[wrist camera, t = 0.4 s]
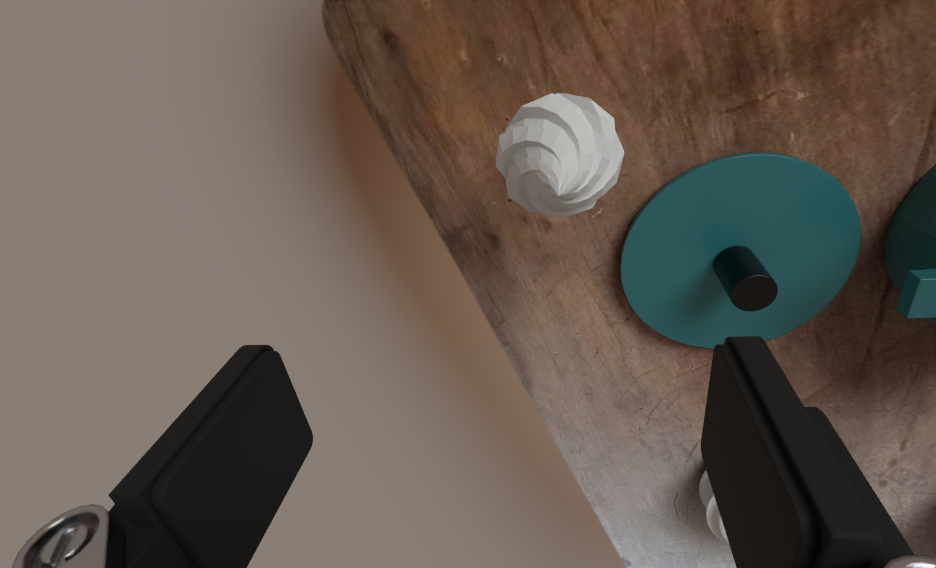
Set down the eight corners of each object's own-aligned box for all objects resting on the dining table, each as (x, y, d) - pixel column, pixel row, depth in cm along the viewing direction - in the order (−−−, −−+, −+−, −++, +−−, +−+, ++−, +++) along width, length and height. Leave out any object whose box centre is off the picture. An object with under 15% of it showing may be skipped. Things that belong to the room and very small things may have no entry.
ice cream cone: (524, 163, 33) (503, 274, 20) (503, 76, 30) (464, 140, 17) (610, 142, 31) (647, 248, 18) (595, 49, 28) (627, 96, 16)
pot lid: (619, 162, 32) (629, 189, 27) (878, 136, 28) (936, 162, 24) (618, 342, 39) (626, 386, 34) (825, 337, 36) (863, 385, 31)
